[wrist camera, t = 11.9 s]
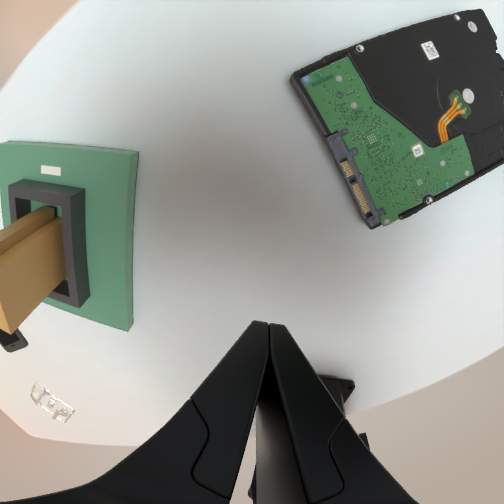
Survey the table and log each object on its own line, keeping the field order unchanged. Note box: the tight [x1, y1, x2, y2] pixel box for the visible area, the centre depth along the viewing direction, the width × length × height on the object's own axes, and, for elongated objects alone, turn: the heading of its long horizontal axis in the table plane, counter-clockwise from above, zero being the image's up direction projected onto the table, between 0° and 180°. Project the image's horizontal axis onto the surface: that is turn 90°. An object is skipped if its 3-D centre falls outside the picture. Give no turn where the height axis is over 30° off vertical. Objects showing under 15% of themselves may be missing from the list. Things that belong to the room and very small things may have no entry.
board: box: [0, 141, 139, 332], centre depth 19 cm, size 14×13×3 cm
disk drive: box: [290, 9, 504, 230], centre depth 14 cm, size 10×3×15 cm
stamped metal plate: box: [31, 382, 75, 423], centre depth 33 cm, size 8×7×2 cm
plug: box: [0, 206, 67, 334], centre depth 16 cm, size 5×3×8 cm, turn 168°
